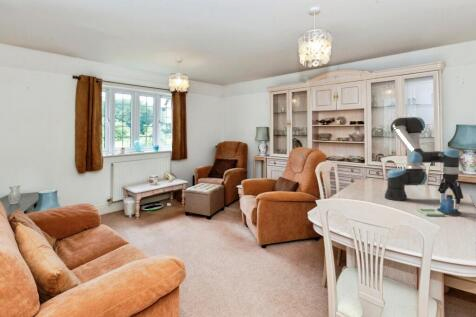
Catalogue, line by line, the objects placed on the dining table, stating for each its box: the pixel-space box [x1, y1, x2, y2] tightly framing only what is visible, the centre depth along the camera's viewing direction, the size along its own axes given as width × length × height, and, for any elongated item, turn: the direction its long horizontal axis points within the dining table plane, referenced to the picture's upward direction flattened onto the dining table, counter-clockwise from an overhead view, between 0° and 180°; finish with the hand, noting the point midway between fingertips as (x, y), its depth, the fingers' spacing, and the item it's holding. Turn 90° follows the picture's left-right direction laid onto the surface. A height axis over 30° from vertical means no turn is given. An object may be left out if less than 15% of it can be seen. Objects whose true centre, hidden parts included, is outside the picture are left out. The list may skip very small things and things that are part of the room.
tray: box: [417, 208, 446, 217], centre depth 160 cm, size 10×10×2 cm
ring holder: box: [436, 207, 462, 217], centre depth 159 cm, size 12×12×1 cm
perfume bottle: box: [439, 194, 459, 214], centre depth 159 cm, size 6×6×12 cm
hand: (449, 205), depth 159 cm, fingers open, 13 cm apart
